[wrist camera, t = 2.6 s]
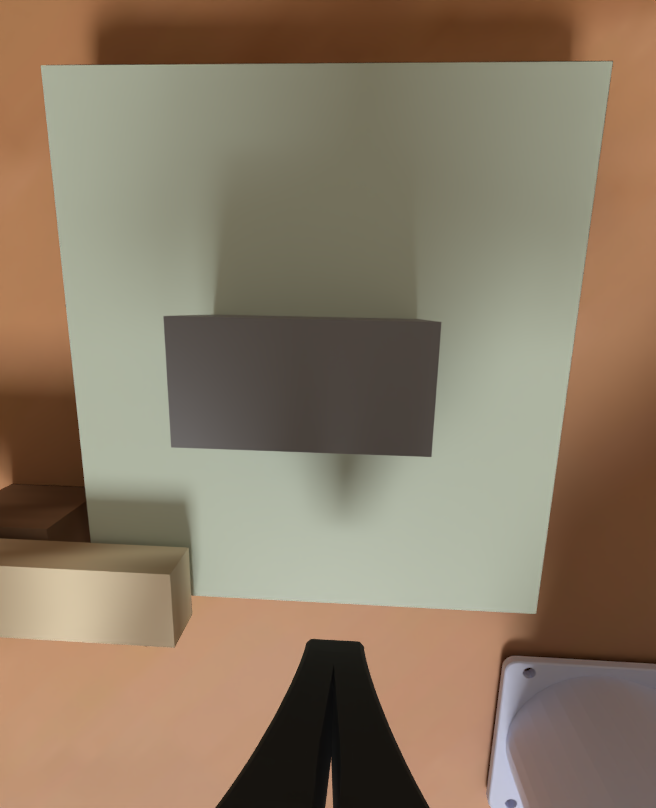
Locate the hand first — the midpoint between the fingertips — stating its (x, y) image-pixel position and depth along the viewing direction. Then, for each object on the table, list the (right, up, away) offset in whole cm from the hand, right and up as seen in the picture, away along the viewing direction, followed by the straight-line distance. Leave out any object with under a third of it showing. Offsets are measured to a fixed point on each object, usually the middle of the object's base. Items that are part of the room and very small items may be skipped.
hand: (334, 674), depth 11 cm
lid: (-1, +8, +3) cm, 9 cm away
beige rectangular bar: (-11, +1, +4) cm, 11 cm away
